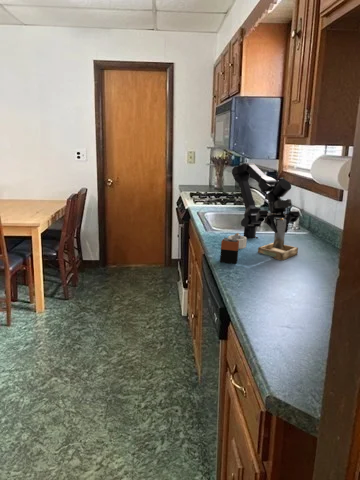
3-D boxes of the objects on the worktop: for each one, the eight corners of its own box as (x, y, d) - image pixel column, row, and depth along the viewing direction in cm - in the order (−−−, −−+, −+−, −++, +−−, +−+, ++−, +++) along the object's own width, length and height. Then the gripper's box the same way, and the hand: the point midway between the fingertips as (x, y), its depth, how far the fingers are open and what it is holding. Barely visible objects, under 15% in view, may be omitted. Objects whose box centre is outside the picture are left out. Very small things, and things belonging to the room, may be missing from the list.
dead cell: (236, 244, 190) (237, 232, 189) (241, 246, 188) (242, 233, 187) (232, 245, 188) (233, 233, 187) (237, 247, 186) (238, 234, 185)
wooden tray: (273, 248, 190) (274, 242, 189) (297, 254, 182) (298, 247, 182) (257, 254, 180) (258, 247, 179) (281, 260, 172) (282, 253, 171)
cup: (234, 244, 194) (235, 234, 193) (248, 248, 189) (249, 237, 188) (224, 247, 188) (225, 237, 187) (238, 251, 183) (239, 240, 182)
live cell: (274, 245, 183) (277, 217, 180) (284, 246, 181) (287, 218, 178) (272, 247, 179) (275, 218, 176) (282, 249, 178) (285, 220, 174)
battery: (236, 264, 165) (238, 240, 162) (219, 262, 166) (221, 239, 164) (237, 261, 169) (239, 238, 166) (221, 259, 170) (222, 236, 168)
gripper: (260, 191, 177) (266, 222, 169) (301, 192, 179) (308, 223, 172) (253, 206, 186) (258, 235, 179) (291, 207, 189) (298, 236, 181)
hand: (281, 232), depth 177 cm, fingers closed on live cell, 4 cm apart
